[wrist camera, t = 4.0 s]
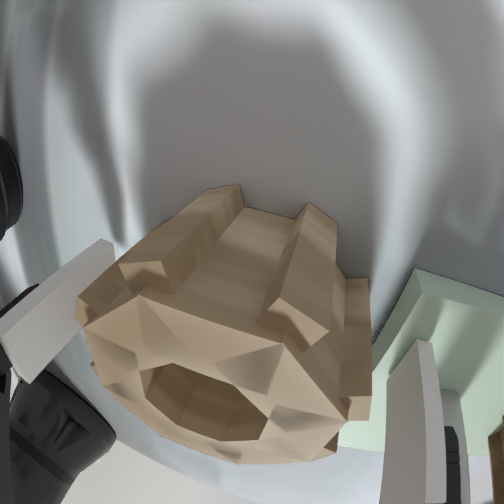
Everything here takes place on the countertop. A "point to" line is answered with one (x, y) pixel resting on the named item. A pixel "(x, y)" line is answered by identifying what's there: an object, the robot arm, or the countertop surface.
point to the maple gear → (235, 332)
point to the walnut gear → (497, 464)
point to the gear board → (443, 363)
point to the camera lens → (9, 190)
